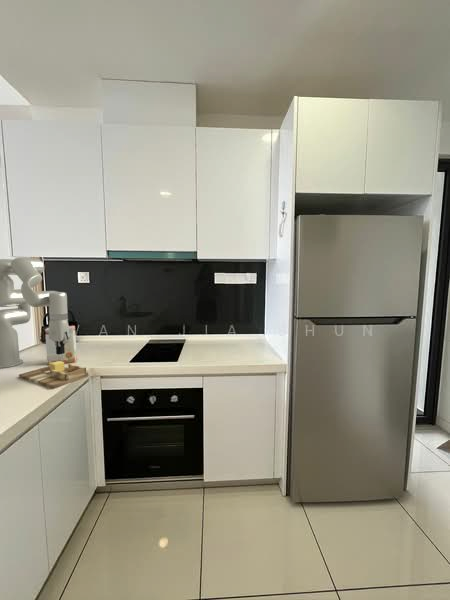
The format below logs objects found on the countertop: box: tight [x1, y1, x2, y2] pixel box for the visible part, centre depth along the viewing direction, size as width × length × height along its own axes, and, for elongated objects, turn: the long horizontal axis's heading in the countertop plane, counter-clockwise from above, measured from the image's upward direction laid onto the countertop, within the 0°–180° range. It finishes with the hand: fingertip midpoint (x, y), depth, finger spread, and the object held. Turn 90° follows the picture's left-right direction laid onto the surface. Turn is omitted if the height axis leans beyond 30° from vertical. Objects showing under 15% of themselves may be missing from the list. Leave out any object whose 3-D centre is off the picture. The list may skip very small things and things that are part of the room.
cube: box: [49, 361, 65, 372], centre depth 136 cm, size 4×4×4 cm
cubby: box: [49, 363, 87, 381], centre depth 131 cm, size 13×10×3 cm
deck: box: [18, 365, 89, 390], centre depth 133 cm, size 29×17×2 cm, turn 62°
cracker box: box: [44, 325, 78, 366], centre depth 154 cm, size 14×6×21 cm, turn 108°
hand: (60, 353), depth 133 cm, fingers closed
